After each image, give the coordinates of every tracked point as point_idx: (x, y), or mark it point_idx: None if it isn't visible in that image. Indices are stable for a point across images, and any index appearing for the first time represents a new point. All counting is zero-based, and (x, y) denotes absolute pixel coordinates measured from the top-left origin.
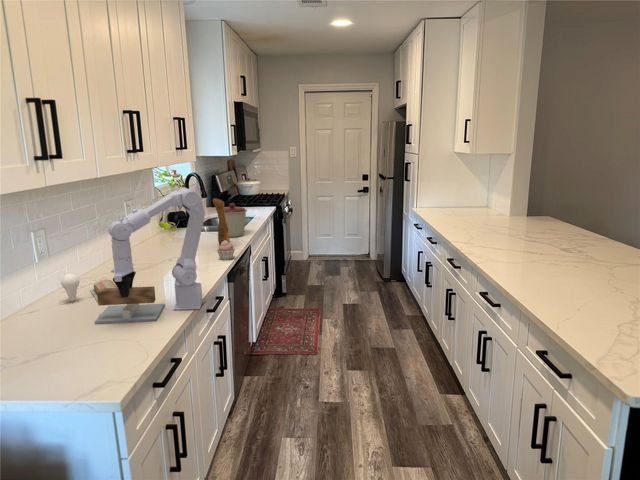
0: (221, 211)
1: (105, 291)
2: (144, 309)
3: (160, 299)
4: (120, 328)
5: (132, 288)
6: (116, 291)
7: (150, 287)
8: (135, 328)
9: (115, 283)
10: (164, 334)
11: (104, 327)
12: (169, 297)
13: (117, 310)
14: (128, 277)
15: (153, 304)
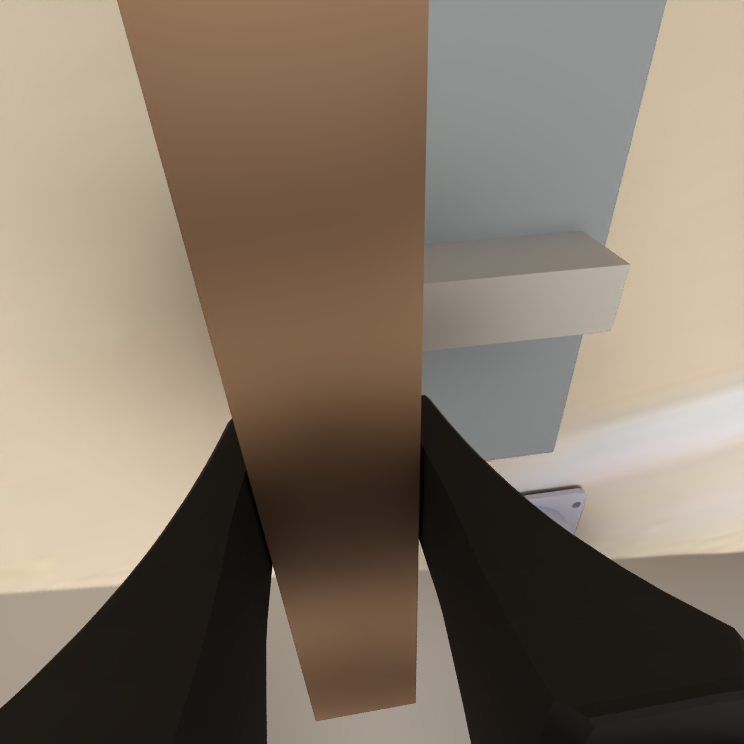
0: None
1: (175, 191)
2: (460, 362)
3: (697, 371)
4: (92, 282)
5: (358, 579)
6: (236, 413)
7: (381, 693)
8: (120, 394)
9: (27, 694)
10: (72, 565)
11: (74, 102)
12: (709, 414)
13: (488, 106)
14: (483, 734)
15: (557, 390)
